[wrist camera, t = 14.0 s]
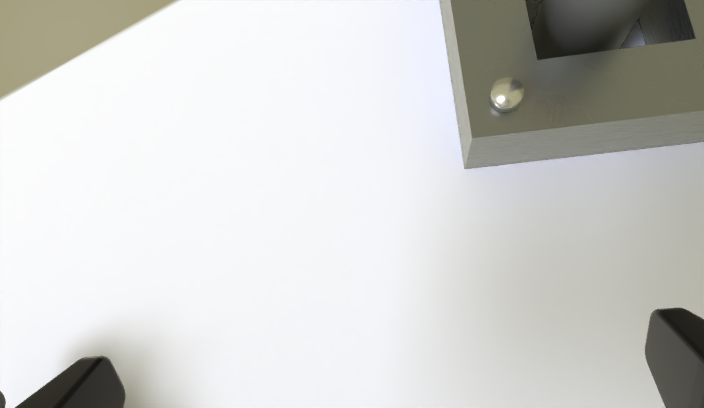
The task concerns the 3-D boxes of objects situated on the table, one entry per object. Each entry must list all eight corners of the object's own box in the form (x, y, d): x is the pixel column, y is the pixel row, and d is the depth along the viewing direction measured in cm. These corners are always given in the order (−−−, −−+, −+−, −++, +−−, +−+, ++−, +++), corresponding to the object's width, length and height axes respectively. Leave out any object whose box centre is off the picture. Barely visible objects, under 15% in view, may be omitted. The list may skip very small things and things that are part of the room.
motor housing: (747, 136, 22) (817, 90, 18) (464, 169, 23) (473, 132, 19) (675, -86, 26) (721, -165, 22) (432, -48, 27) (434, -116, 23)
